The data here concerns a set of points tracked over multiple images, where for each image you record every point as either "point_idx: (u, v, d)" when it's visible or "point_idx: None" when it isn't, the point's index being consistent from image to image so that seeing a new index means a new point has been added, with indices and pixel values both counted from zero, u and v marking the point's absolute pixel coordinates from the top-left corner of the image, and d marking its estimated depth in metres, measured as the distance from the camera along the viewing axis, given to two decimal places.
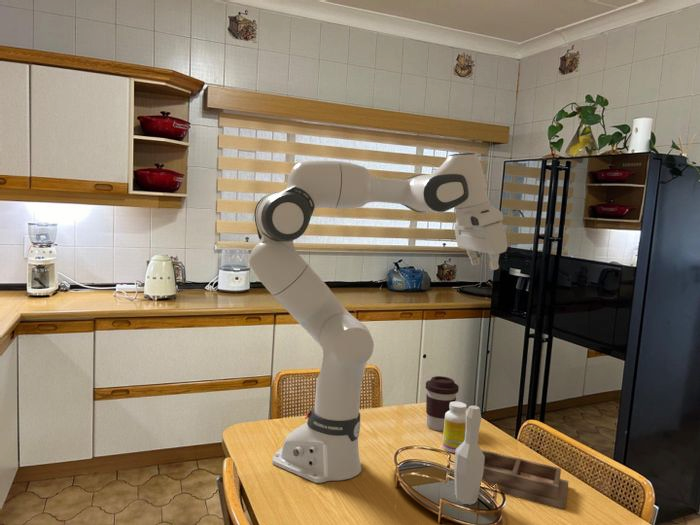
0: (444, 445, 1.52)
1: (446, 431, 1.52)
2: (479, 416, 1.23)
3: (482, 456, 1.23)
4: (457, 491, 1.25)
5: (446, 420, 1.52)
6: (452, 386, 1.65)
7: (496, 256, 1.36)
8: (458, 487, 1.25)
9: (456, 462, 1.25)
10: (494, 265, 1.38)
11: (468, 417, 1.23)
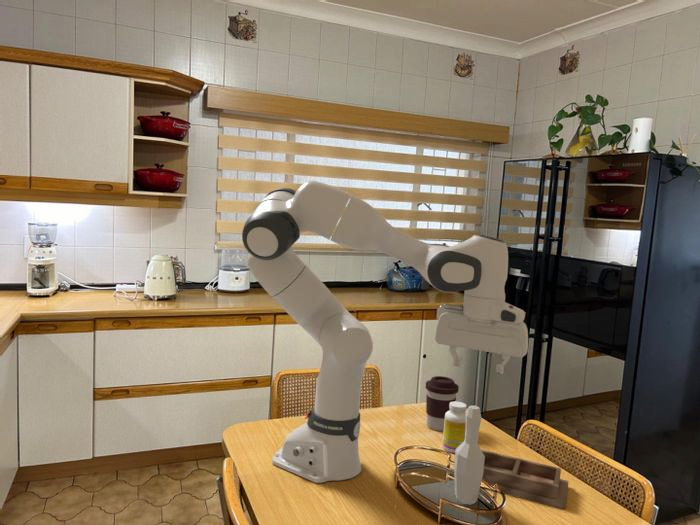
0: (444, 445, 1.52)
1: (446, 431, 1.52)
2: (479, 416, 1.23)
3: (482, 456, 1.23)
4: (457, 491, 1.25)
5: (446, 420, 1.52)
6: (452, 386, 1.65)
7: (508, 359, 1.21)
8: (458, 487, 1.25)
9: (456, 462, 1.25)
10: (502, 369, 1.21)
11: (468, 417, 1.24)
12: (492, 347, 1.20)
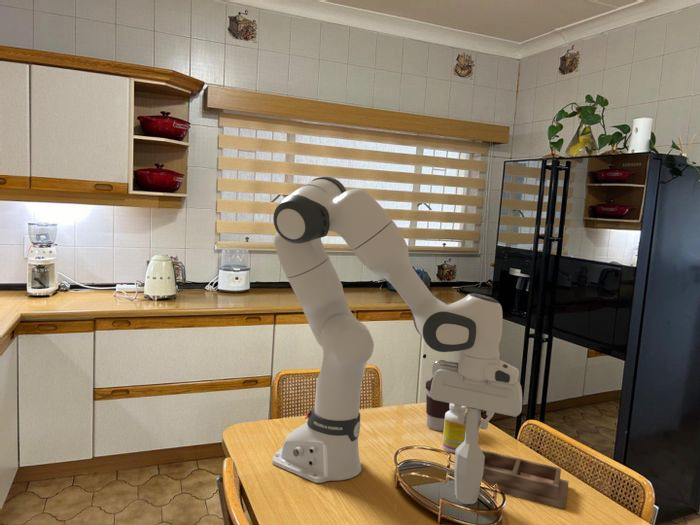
0: (444, 445, 1.52)
1: (446, 431, 1.52)
2: (479, 416, 1.23)
3: (482, 456, 1.23)
4: (457, 491, 1.25)
5: (446, 420, 1.52)
6: None
7: None
8: (458, 487, 1.25)
9: (456, 462, 1.25)
10: (487, 424, 1.23)
11: (468, 417, 1.24)
12: (486, 406, 1.21)
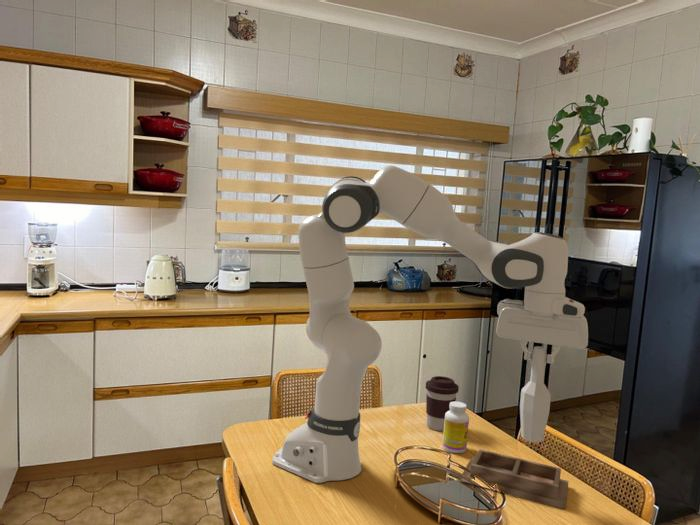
0: (444, 445, 1.52)
1: (446, 431, 1.52)
2: (545, 355, 1.28)
3: (548, 394, 1.28)
4: (524, 429, 1.29)
5: (446, 420, 1.52)
6: (452, 386, 1.65)
7: None
8: (525, 425, 1.29)
9: (522, 401, 1.29)
10: (553, 359, 1.27)
11: (534, 357, 1.28)
12: (554, 340, 1.25)
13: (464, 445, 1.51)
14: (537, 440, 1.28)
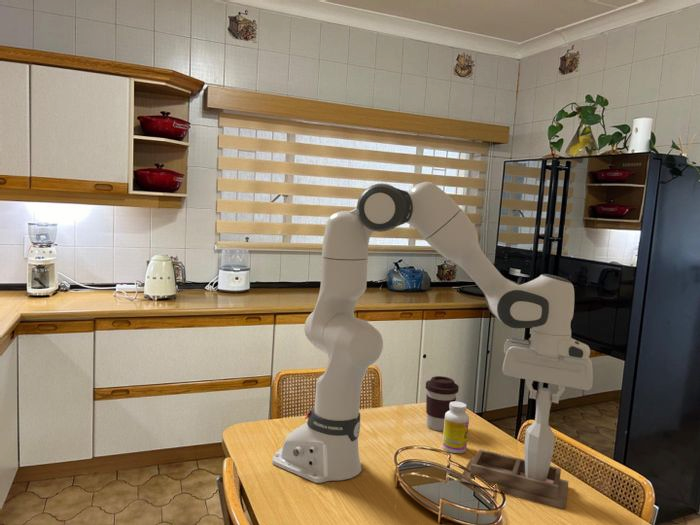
0: (444, 445, 1.52)
1: (446, 431, 1.52)
2: (550, 398, 1.30)
3: (552, 435, 1.30)
4: (528, 469, 1.32)
5: (446, 420, 1.52)
6: (452, 386, 1.65)
7: None
8: (529, 465, 1.32)
9: (527, 441, 1.32)
10: (558, 398, 1.30)
11: (539, 398, 1.30)
12: (559, 380, 1.28)
13: (464, 445, 1.51)
14: (541, 480, 1.31)
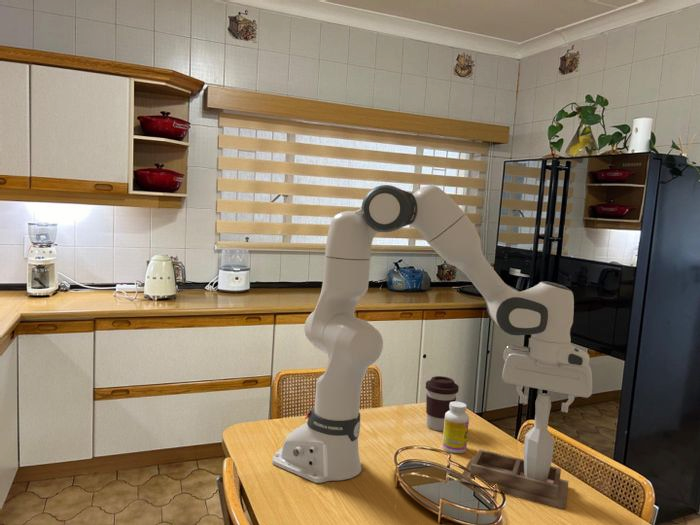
0: (444, 445, 1.52)
1: (446, 431, 1.52)
2: (549, 403, 1.30)
3: (551, 441, 1.30)
4: (527, 474, 1.32)
5: (446, 420, 1.52)
6: (452, 386, 1.65)
7: None
8: (528, 470, 1.32)
9: (526, 446, 1.32)
10: None
11: (538, 404, 1.31)
12: (558, 387, 1.28)
13: (464, 445, 1.51)
14: None
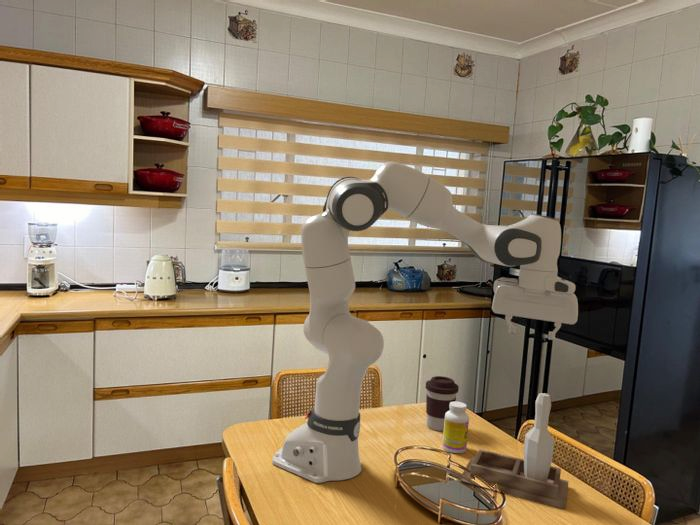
0: (444, 445, 1.52)
1: (446, 431, 1.52)
2: (549, 403, 1.30)
3: (551, 441, 1.30)
4: (527, 474, 1.32)
5: (446, 420, 1.52)
6: (452, 386, 1.65)
7: (560, 326, 1.34)
8: (528, 470, 1.32)
9: (526, 446, 1.32)
10: (554, 335, 1.34)
11: (539, 404, 1.31)
12: (545, 315, 1.34)
13: (464, 445, 1.51)
14: None
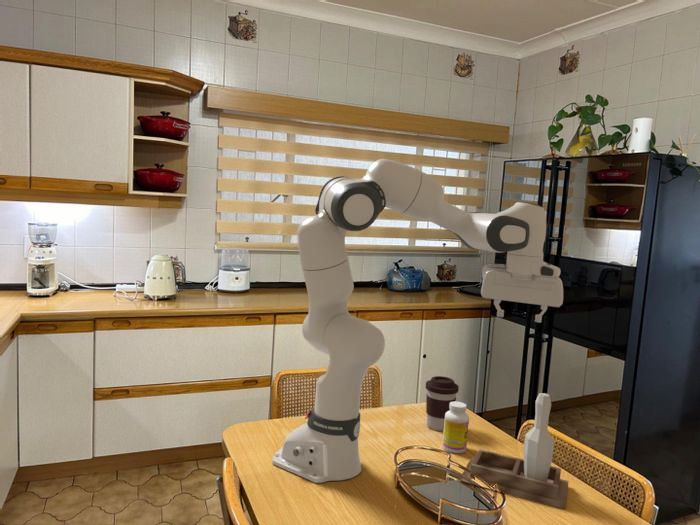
0: (444, 445, 1.52)
1: (446, 431, 1.52)
2: (549, 403, 1.30)
3: (551, 441, 1.30)
4: (527, 474, 1.32)
5: (446, 420, 1.52)
6: (452, 386, 1.65)
7: None
8: (528, 470, 1.32)
9: (526, 446, 1.32)
10: (541, 318, 1.40)
11: (539, 404, 1.31)
12: (532, 299, 1.39)
13: (464, 445, 1.51)
14: None
